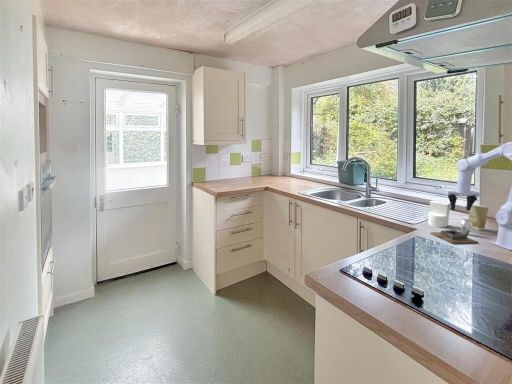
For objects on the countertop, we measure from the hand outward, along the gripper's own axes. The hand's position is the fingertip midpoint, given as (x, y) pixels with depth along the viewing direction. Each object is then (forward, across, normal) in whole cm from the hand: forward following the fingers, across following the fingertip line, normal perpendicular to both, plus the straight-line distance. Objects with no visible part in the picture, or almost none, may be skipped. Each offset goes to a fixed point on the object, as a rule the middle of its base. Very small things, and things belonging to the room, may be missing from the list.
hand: (460, 209), depth 153 cm
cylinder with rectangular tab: (+9, +8, -4) cm, 13 cm away
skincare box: (+10, -9, -1) cm, 14 cm away
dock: (+10, +10, +18) cm, 23 cm away
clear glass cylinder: (+10, +1, +9) cm, 14 cm away
